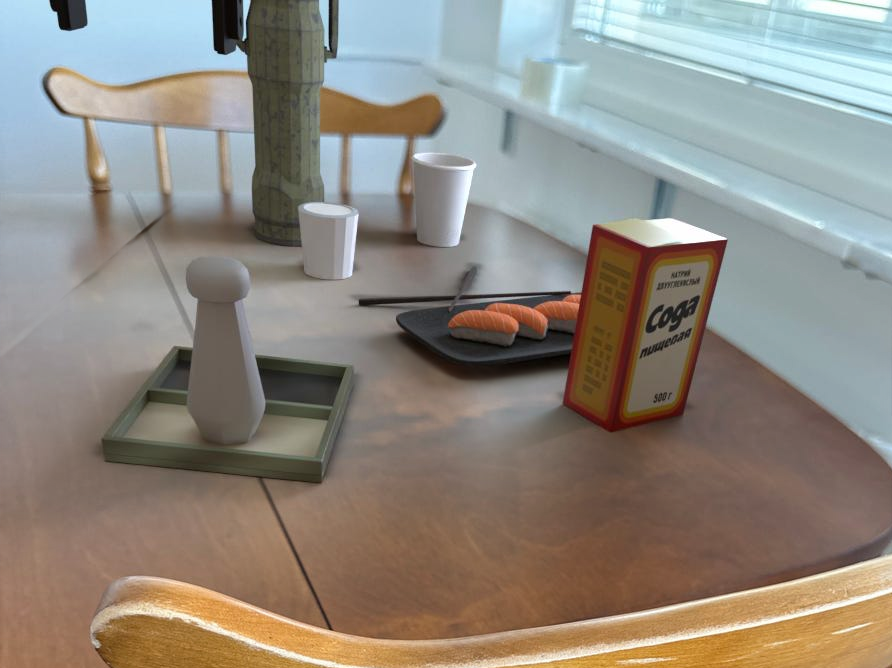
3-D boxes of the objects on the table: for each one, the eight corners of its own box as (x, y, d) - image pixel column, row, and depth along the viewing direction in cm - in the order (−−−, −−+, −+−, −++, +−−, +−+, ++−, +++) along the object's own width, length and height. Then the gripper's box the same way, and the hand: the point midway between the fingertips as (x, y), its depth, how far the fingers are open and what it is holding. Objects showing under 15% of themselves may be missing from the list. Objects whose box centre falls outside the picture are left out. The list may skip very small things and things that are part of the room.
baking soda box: (634, 387, 91) (672, 213, 81) (683, 414, 87) (729, 234, 77) (562, 403, 86) (593, 220, 76) (610, 432, 82) (649, 242, 72)
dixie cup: (394, 235, 125) (398, 153, 118) (441, 230, 129) (447, 150, 123) (434, 252, 120) (440, 168, 114) (481, 246, 125) (489, 165, 119)
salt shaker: (196, 414, 74) (182, 244, 66) (269, 419, 75) (263, 252, 67) (183, 447, 69) (165, 269, 61) (261, 452, 70) (253, 276, 62)
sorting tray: (104, 461, 68) (100, 438, 67) (175, 365, 83) (173, 345, 82) (321, 483, 69) (321, 461, 68) (353, 384, 84) (354, 365, 83)
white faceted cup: (368, 272, 111) (370, 209, 106) (337, 285, 106) (338, 220, 101) (319, 259, 113) (319, 197, 108) (286, 272, 107) (285, 207, 103)
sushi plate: (458, 385, 86) (462, 345, 84) (317, 284, 105) (317, 249, 103) (682, 349, 101) (691, 314, 98) (523, 266, 119) (527, 235, 117)
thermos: (234, 226, 120) (217, -121, 99) (323, 226, 124) (324, -106, 103) (250, 246, 114) (234, -119, 92) (343, 246, 118) (348, -103, 97)
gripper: (-83, -388, 46) (-14, 24, 56) (270, -326, 46) (273, 68, 57) (-14, -352, 51) (37, 15, 62) (297, -298, 52) (295, 55, 63)
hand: (150, 40), depth 59 cm, fingers open, 9 cm apart
